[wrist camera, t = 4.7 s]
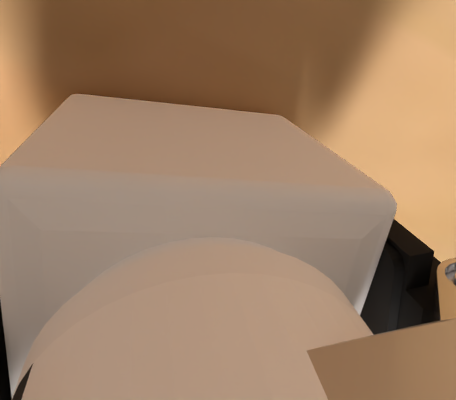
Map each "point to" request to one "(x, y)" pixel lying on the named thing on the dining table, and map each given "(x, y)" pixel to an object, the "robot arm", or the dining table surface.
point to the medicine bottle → (180, 254)
